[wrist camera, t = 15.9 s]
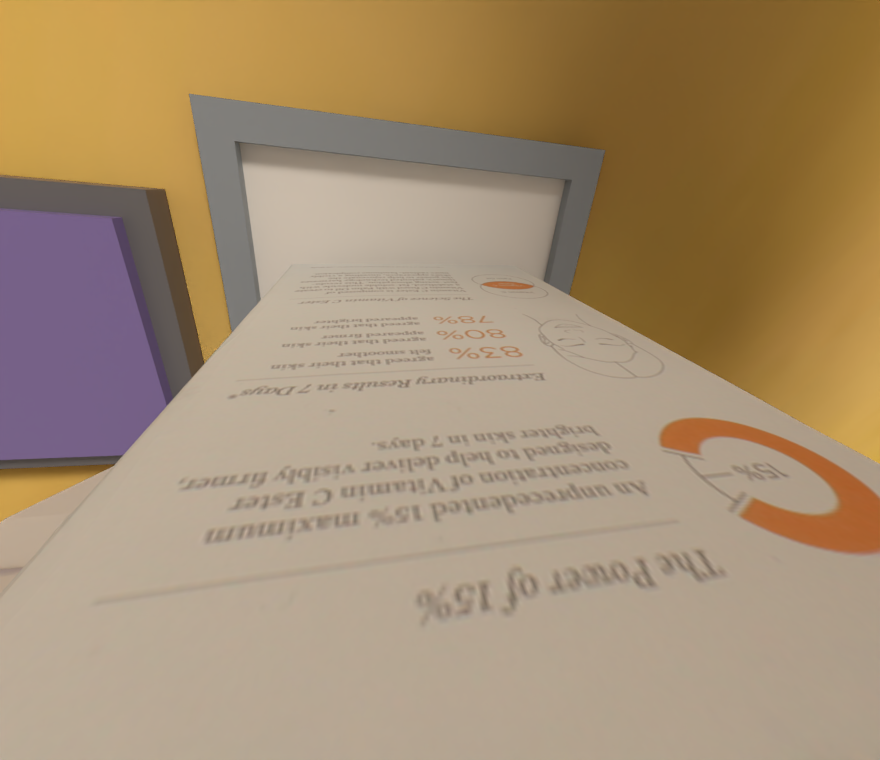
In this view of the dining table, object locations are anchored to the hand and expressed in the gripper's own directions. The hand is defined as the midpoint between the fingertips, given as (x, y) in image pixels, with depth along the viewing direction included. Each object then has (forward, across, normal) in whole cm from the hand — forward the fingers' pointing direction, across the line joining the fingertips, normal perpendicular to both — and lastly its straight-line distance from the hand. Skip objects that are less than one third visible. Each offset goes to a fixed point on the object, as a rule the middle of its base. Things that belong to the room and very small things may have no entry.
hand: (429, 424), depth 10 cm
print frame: (+6, 0, 0) cm, 7 cm away
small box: (+5, 0, 0) cm, 5 cm away
